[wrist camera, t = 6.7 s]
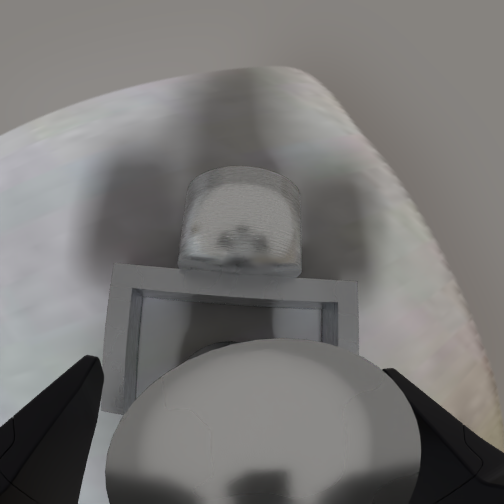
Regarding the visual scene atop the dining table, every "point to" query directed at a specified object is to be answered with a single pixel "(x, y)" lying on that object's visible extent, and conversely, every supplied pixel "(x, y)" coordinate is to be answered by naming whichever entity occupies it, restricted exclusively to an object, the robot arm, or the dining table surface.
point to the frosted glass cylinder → (267, 430)
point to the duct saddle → (226, 269)
